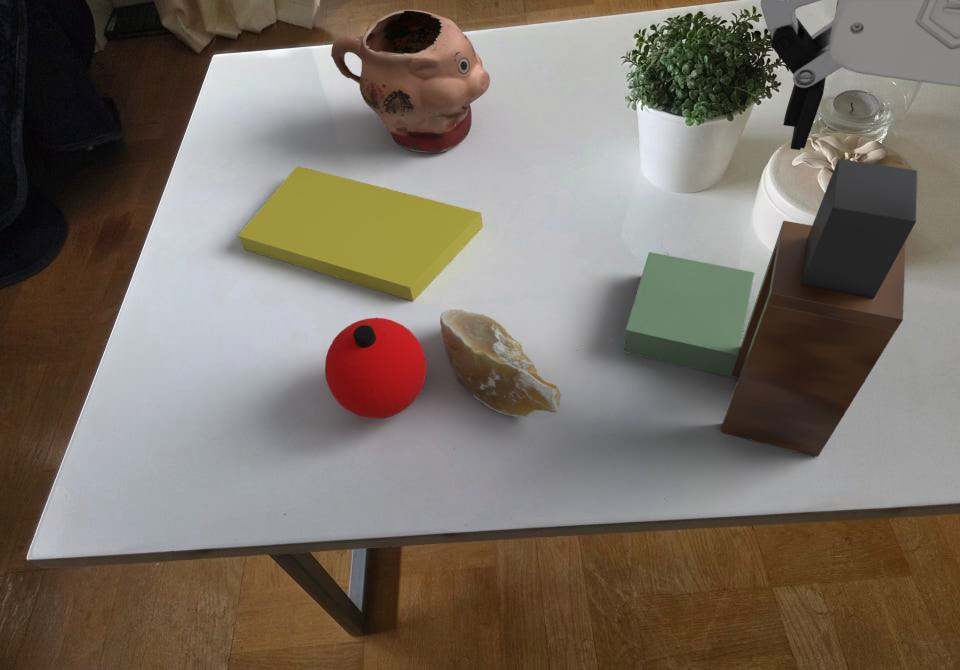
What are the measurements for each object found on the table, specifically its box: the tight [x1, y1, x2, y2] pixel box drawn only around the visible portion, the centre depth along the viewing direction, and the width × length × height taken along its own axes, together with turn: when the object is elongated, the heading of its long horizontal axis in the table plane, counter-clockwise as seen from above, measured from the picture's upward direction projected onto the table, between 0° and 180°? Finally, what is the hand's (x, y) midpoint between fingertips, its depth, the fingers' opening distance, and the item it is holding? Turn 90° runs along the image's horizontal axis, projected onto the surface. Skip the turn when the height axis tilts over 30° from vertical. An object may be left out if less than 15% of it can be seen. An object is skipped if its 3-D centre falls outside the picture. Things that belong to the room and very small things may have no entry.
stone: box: [439, 308, 562, 418], centre depth 66 cm, size 7×6×15 cm
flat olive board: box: [237, 165, 484, 302], centre depth 81 cm, size 12×2×24 cm
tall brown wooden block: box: [720, 220, 907, 458], centre depth 57 cm, size 8×7×19 cm
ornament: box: [324, 317, 427, 420], centre depth 65 cm, size 9×9×10 cm
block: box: [801, 158, 919, 298], centre depth 46 cm, size 4×4×7 cm
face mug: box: [330, 9, 491, 154], centre depth 86 cm, size 20×12×14 cm, turn 74°
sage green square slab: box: [622, 251, 755, 378], centre depth 69 cm, size 10×10×4 cm
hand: (888, 148), depth 41 cm, fingers open, 9 cm apart
